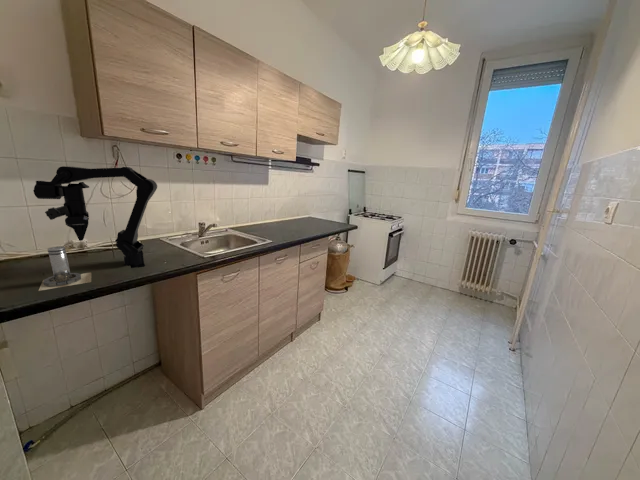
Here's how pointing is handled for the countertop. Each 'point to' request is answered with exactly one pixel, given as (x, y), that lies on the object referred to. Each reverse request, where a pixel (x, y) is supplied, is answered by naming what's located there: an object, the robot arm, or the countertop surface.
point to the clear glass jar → (59, 263)
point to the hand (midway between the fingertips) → (81, 238)
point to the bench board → (84, 279)
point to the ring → (51, 284)
